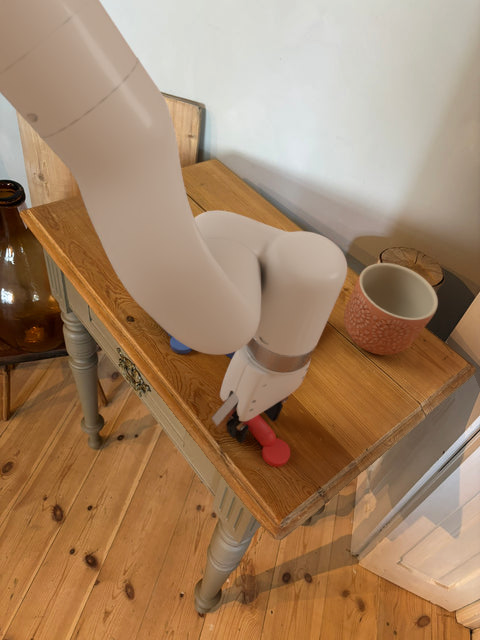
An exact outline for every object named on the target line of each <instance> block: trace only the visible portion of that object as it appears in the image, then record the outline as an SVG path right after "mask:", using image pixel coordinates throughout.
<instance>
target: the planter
mask: <svg viewBox="0 0 480 640" xmlns="http://www.w3.org/2000/svg"><path fill="white" fill-rule="evenodd" d="M438 305H439V299H438V295H437V292H436V291H435V289H434V288H433V285H431V284H430V283H429V281H428V280H426V279H425V278H424V277H423V276H422V275H421V274H419V273H418V272H416V271H413V270H412V269H410V268H408V267H405V266H403V265H399V264H397V263H396V264H395V263H389V262H378V263H374V264H371V265H368V266H367V267H365V268H364V269H363V270H362V271H361V273H360V274H359V276H358V277H357V279H356V282H355V284H354V287H353V289H352V291H351V294H350V297H349V299H348V301H347V304H346V306H345V310H344V314H343V323H344V328H345V330H346V333H347V335H348V336H349V338H350V339H351V341H353V342H354V343H355V344H356V345H357V346H358V347H359V348H361V349H362V350H365V351H366V352H369V353H371V354H374V355H379V356H391V355H392V356H393V355H396V354H400V353H402V352H403V351H405V350H406V349H408V348H409V347H410V346H411V345H412V344H413V343H414V342H415V341H416V339H417V338H418V336H420V334H421V333H422V331H423V330H424V329H425V328H426V326H428V323H430V321H431V319H432V318H433V317H434V315H435V314H436V311H437V309H438V307H439V306H438Z"/></svg>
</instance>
